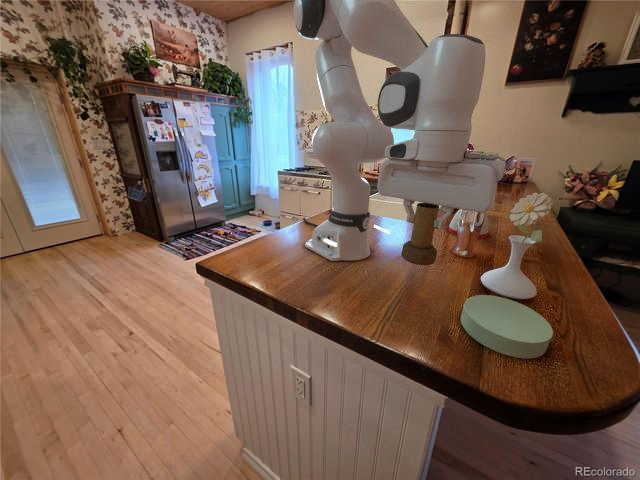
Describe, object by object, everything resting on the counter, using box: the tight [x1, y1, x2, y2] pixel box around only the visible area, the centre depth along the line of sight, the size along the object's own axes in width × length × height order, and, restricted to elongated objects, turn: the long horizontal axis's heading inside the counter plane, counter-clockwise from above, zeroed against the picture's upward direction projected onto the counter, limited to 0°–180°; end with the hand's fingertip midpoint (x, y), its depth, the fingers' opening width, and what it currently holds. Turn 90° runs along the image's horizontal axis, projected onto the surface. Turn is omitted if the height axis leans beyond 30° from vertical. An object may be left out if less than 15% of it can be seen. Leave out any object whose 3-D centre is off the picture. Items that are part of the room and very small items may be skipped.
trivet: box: [460, 294, 554, 359], centre depth 50 cm, size 14×14×4 cm
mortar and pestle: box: [400, 202, 440, 266], centre depth 49 cm, size 7×6×18 cm
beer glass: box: [452, 209, 485, 258], centre depth 81 cm, size 7×7×15 cm
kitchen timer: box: [448, 209, 490, 240], centre depth 101 cm, size 14×14×15 cm
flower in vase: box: [480, 192, 554, 300], centre depth 58 cm, size 13×11×25 cm
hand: (424, 225), depth 50 cm, fingers closed on mortar and pestle, 4 cm apart
